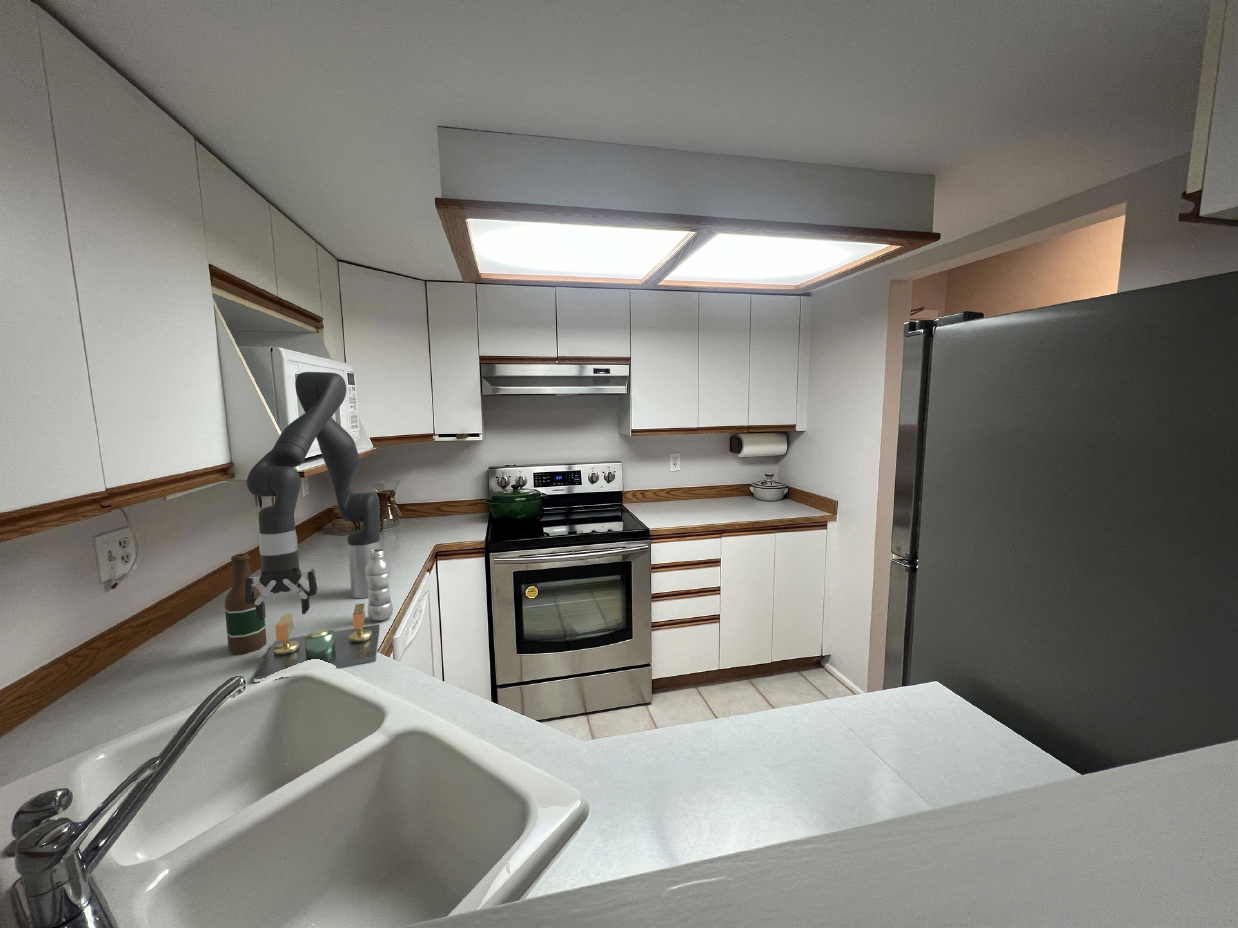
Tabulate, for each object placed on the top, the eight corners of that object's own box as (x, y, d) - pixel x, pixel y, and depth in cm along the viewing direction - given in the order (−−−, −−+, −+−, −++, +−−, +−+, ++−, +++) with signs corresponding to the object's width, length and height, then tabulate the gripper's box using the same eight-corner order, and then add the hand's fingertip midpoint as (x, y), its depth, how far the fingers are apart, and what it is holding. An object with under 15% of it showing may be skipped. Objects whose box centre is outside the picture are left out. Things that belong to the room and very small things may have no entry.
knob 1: (277, 645, 124) (275, 615, 124) (302, 641, 126) (299, 611, 126) (270, 658, 117) (267, 627, 117) (296, 654, 119) (293, 623, 119)
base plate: (275, 645, 128) (273, 619, 127) (379, 628, 137) (378, 604, 136) (253, 683, 109) (251, 653, 109) (375, 660, 119) (374, 633, 118)
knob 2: (350, 633, 131) (348, 605, 130) (372, 630, 133) (371, 602, 132) (347, 645, 124) (345, 615, 123) (370, 642, 126) (369, 612, 125)
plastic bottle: (383, 624, 140) (379, 554, 138) (362, 622, 141) (358, 553, 139) (398, 615, 146) (394, 548, 144) (377, 613, 147) (373, 547, 145)
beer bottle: (274, 642, 129) (267, 551, 127) (244, 656, 122) (236, 560, 119) (251, 639, 131) (243, 549, 129) (220, 653, 124) (211, 558, 121)
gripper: (316, 543, 126) (320, 606, 127) (247, 549, 120) (252, 615, 122) (311, 550, 119) (315, 616, 120) (238, 557, 113) (243, 626, 115)
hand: (283, 615), depth 121 cm, fingers open, 8 cm apart
